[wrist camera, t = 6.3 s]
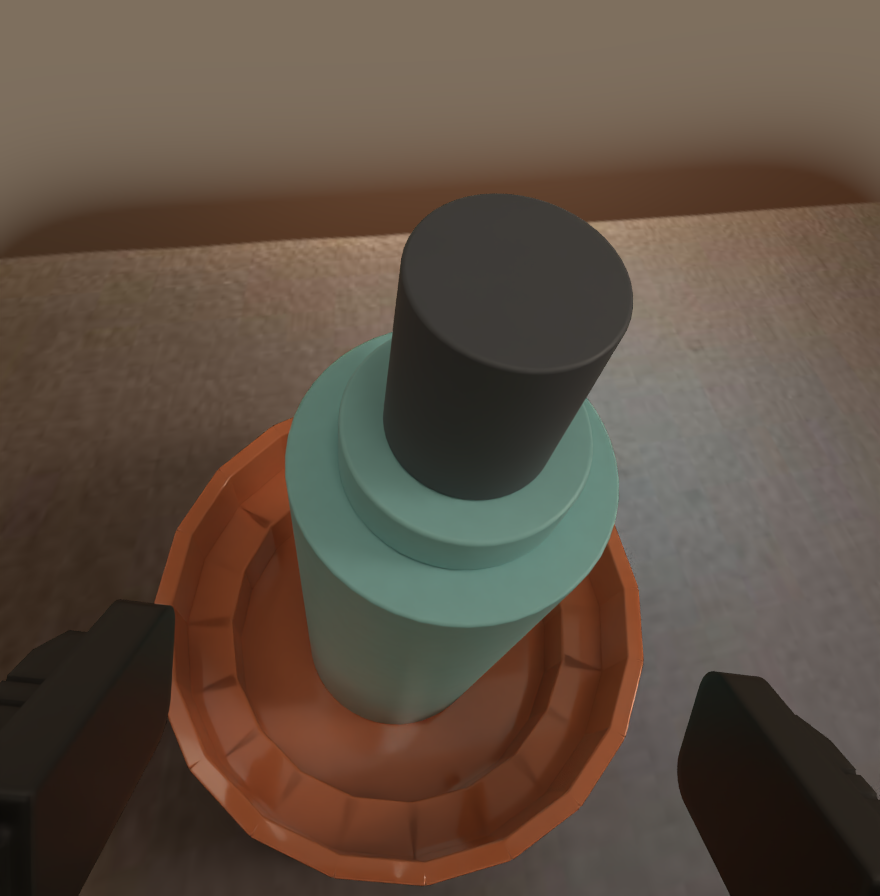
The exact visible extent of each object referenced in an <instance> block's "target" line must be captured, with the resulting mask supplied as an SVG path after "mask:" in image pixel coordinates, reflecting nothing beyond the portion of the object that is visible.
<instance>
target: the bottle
mask: <svg viewBox="0 0 880 896" xmlns="http://www.w3.org/2000/svg"><path fill="white" fill-rule="evenodd" d="M632 310H633V292H632V286H631V281H630V278H629V275H628V272H627V270H626V268H625V266H624V264H623V261H622V260H621V258H620V257H619V255H618V254H617V252H616V251H615V249H614V248H613V247H612V246H611V244H610V243H609V242H608V241H607V240H606V239H605V238H604V237H603V236H602V235H601V234H600V233H599V232H598V231H597V230H596V229H594V228H593V227H592V226H591V225H589V224H588V223H587V222H585V221H584V220H582V219H580V218H579V217H577V216H576V215H574V214H572V213H570V212H568V211H566V210H564V209H562V208H560V207H557V206H555V205H553V204H550V203H548V202H544V201H541V200H538V199H534V198H530V197H525V196H519V195H512V194H480V195H474V196H468V197H464V198H461V199H457V200H454V201H452V202H449V203H448V204H445V205H443V206H441V207H439V208H438V209H436V210H434V211H433V212H431V213H430V214H429V215H427V216H426V217H425V218H424V219H423V220H422V221H421V222H420V223H419V224H418V225H417V226H416V227H415V229H414V230H413V232H412V233H411V235H410V236H409V238H408V240H407V242H406V244H405V247H404V250H403V254H402V258H401V265H400V274H399V282H398V291H397V299H396V308H395V316H394V324H393V332H391V333H388V334H385V335H382V336H379V337H376V338H373V339H371V340H369V341H367V342H365V343H363V344H361V345H359V346H357V347H355V348H354V349H352V350H350V351H349V352H347V353H346V354H344V355H343V356H341V357H340V358H339V359H337V360H336V361H335V362H334V363H333V364H332V365H330V366H329V367H328V368H327V369H326V370H325V371H324V372H323V373H322V374H321V375H320V376H319V378H318V379H317V380H316V381H315V382H314V383H313V384H312V386H311V387H310V389H309V390H308V392H307V393H306V395H305V396H304V398H303V399H302V401H301V403H300V405H299V407H298V409H297V411H296V414H295V416H294V418H293V421H292V424H291V428H290V431H289V434H288V439H287V446H286V452H285V479H286V485H287V492H288V499H289V505H290V512H291V519H292V525H293V532H294V539H295V545H296V552H297V559H298V565H299V572H300V579H301V585H302V592H303V599H304V605H305V612H306V619H307V625H308V632H309V639H310V645H311V652H312V657H313V661H314V664H315V668H316V670H317V672H318V674H319V677H320V679H321V680H322V682H323V683H324V685H325V687H326V688H327V690H328V691H329V692H330V693H331V694H332V696H333V697H334V698H335V699H336V700H337V701H338V702H339V703H341V704H342V705H343V706H344V707H346V708H347V709H348V710H350V711H351V712H353V713H355V714H357V715H359V716H361V717H363V718H365V719H368V720H371V721H374V722H379V723H385V724H408V723H414V722H418V721H422V720H425V719H427V718H430V717H432V716H435V715H436V714H438V713H440V712H441V711H443V710H445V709H446V708H447V707H449V706H450V705H451V704H452V703H454V702H455V701H456V700H457V699H458V698H459V697H460V696H461V695H462V694H463V693H464V692H465V691H466V690H467V689H469V688H470V687H471V686H472V685H473V684H474V683H475V682H476V681H477V680H478V679H479V678H480V677H481V676H482V675H483V674H484V673H486V672H487V671H488V670H489V669H490V668H491V667H492V666H493V665H494V664H495V663H496V662H497V661H498V660H499V659H500V658H501V657H503V656H504V655H505V654H506V653H507V652H508V651H509V650H510V649H511V648H512V647H513V646H514V645H515V644H516V643H517V642H518V641H520V640H521V639H522V638H523V637H524V636H525V635H526V634H527V633H528V632H529V631H530V630H531V629H532V628H533V627H534V626H535V625H537V624H538V623H539V622H540V621H541V620H542V619H543V618H544V617H545V616H546V615H547V614H548V613H549V612H550V611H551V610H552V609H554V608H555V607H556V606H557V605H558V604H559V603H560V602H561V601H562V600H563V599H564V598H565V597H566V596H567V595H568V594H569V593H571V592H572V591H573V590H574V589H575V588H576V587H577V586H578V585H579V584H580V583H581V581H582V580H583V579H584V578H585V577H586V576H587V575H588V574H589V573H590V571H591V570H592V569H593V567H594V566H595V564H596V563H597V562H598V560H599V559H600V557H601V555H602V553H603V551H604V549H605V547H606V545H607V543H608V541H609V539H610V536H611V533H612V530H613V527H614V524H615V520H616V514H617V508H618V502H619V479H618V471H617V463H616V459H615V455H614V451H613V447H612V444H611V441H610V439H609V436H608V434H607V431H606V429H605V427H604V424H603V423H602V421H601V419H600V417H599V416H598V414H597V412H596V410H595V409H594V407H593V406H592V404H591V403H590V402H589V400H588V399H587V398H586V397H587V395H588V394H589V392H590V390H591V389H592V387H593V386H594V384H595V382H596V381H597V379H598V377H599V376H600V374H601V372H602V371H603V369H604V367H605V366H606V364H607V362H608V361H609V359H610V357H611V356H612V354H613V352H614V351H615V349H616V347H617V346H618V344H619V342H620V341H621V339H622V337H623V336H624V334H625V332H626V331H627V328H628V326H629V323H630V320H631V316H632Z"/></svg>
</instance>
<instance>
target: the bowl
mask: <svg viewBox="0 0 880 896" xmlns="http://www.w3.org/2000/svg"><path fill="white" fill-rule="evenodd" d="M293 418H294V417H293ZM293 418H290V419H288V420H286V421H283V422H281V423H278V424H276V425H274V426H273V427H271V428H269V429H268V430H267V431H266V432H264V433H263V434H262V435H261V436H259V437H258V438H257V439H256V440H254V441H253V442H252V443H250V444H249V445H248V446H247V447H245V448H244V449H243V450H242V451H240V452H239V453H238V454H237V455H235V456H234V457H233V458H232V459H230V460H229V461H228V462H227V463H225V464H224V465H223V466H222V467H220V468H219V470H217V471H216V473H215V474H214V476H213V477H212V479H211V480H210V482H209V483H208V485H207V486H206V487H205V489H204V490H203V492H202V493H201V495H200V496H199V498H198V499H197V501H196V502H195V503H194V505H193V506H192V508H191V509H190V511H189V512H188V514H187V515H186V516H185V518H184V519H183V521H182V522H181V524H180V525H179V527H178V528H177V531H176V532H175V535H174V538H173V542H172V545H171V548H170V552H169V555H168V558H167V562H166V565H165V568H164V572H163V575H162V578H161V582H160V585H159V588H158V592H157V595H156V598H155V602H154V604H163V605H171V606H172V607H173V608H174V612H175V633H174V651H173V669H172V687H171V701H170V707H169V713H168V719H169V721H170V724H171V726H172V729H173V731H174V734H175V736H176V739H177V741H178V744H179V746H180V749H181V751H182V754H183V756H184V759H185V761H186V764H187V766H188V768H189V769H190V772H191V773H192V774H193V775H194V776H195V777H196V778H197V779H198V780H199V781H200V783H201V784H202V785H203V786H204V787H205V788H206V789H207V790H208V791H209V792H210V794H211V795H212V796H213V797H214V798H215V799H216V800H217V801H218V802H219V803H220V804H221V806H222V807H223V808H224V809H225V810H226V811H227V812H228V813H229V814H230V815H231V817H232V818H233V819H234V820H235V821H236V822H237V823H238V824H239V825H240V826H241V828H242V829H243V830H244V831H245V832H246V833H247V834H248V835H250V836H251V837H252V838H253V839H255V840H257V841H259V842H261V843H263V844H265V845H267V846H269V847H271V848H273V849H275V850H277V851H279V852H281V853H283V854H285V855H287V856H289V857H291V858H293V859H295V860H297V861H299V862H301V863H303V864H305V865H307V866H309V867H311V868H313V869H315V870H317V871H319V872H321V873H323V874H325V875H327V876H329V877H334V878H335V879H346V880H358V881H369V882H381V883H393V884H404V885H416V886H425V885H431V884H435V883H438V882H441V881H445V880H448V879H452V878H455V877H458V876H462V875H465V874H468V873H472V872H475V871H478V870H482V869H485V868H489V867H492V866H495V865H499V864H502V863H505V862H509V861H510V860H511V859H515V858H516V857H517V856H518V855H520V854H521V853H522V852H524V851H525V850H526V849H528V848H529V847H530V846H532V845H533V844H534V843H535V842H537V841H538V840H539V839H541V838H542V837H543V836H545V835H546V834H547V833H549V832H550V831H551V830H552V829H554V828H555V827H556V826H558V825H559V824H560V823H562V822H563V821H564V820H565V819H567V818H568V817H569V816H571V815H572V814H573V813H575V812H576V811H577V810H579V808H580V807H581V806H582V805H583V803H584V802H585V800H586V799H587V797H588V796H589V794H590V792H591V791H592V789H593V788H594V786H595V785H596V783H597V782H598V780H599V778H600V777H601V775H602V774H603V772H604V771H605V769H606V767H607V766H608V764H609V763H610V761H611V760H612V758H613V756H614V755H615V753H616V752H617V750H618V749H619V747H620V745H621V744H622V742H623V741H624V738H625V737H626V733H627V729H628V725H629V721H630V717H631V713H632V709H633V704H634V700H635V696H636V692H637V688H638V684H639V680H640V676H641V672H642V668H643V646H642V631H641V617H640V602H639V590H638V589H637V588H638V585H637V583H636V580H635V578H634V575H633V572H632V570H631V567H630V564H629V562H628V559H627V556H626V554H625V551H624V548H623V546H622V543H621V540H620V538H619V535H618V532H617V530H616V527H615V524H614V527H613V530H612V533H611V536H610V539H609V541H608V543H607V545H606V547H605V549H604V551H603V553H602V555H601V557H600V559H599V560H598V562H597V563H596V564H595V566H594V567H593V569H592V570H591V571H590V573H589V574H588V575H587V576H586V577H585V578H584V579H583V580H582V581H581V583H580V584H579V585H578V586H577V587H576V588H575V589H574V590H573V591H572V592H571V593H569V594H568V595H567V596H566V597H565V598H564V599H563V600H562V601H561V602H560V603H559V604H558V605H557V606H556V607H555V608H554V609H552V610H551V611H550V612H549V613H548V614H547V615H546V616H545V617H544V618H543V619H542V620H541V621H540V622H539V623H538V624H537V625H535V626H534V627H533V628H532V629H531V630H530V631H529V632H528V633H527V634H526V635H525V636H524V637H523V638H522V639H521V640H520V641H518V642H517V643H516V644H515V645H514V646H513V647H512V648H511V649H510V650H509V651H508V652H507V653H506V654H505V655H504V656H503V657H501V658H500V659H499V660H498V661H497V662H496V663H495V664H494V665H493V666H492V667H491V668H490V669H489V670H488V671H487V672H486V673H484V674H483V675H482V676H481V677H480V678H479V679H478V680H477V681H476V682H475V683H474V684H473V685H472V686H471V687H470V688H469V689H467V690H466V691H465V692H464V693H463V694H462V695H461V696H460V697H459V698H458V699H457V700H456V701H455V702H454V703H452V704H451V705H450V706H449V707H447V708H446V709H445V710H443V711H441V712H440V713H438V714H436V715H435V716H432V717H430V718H427V719H425V720H422V721H418V722H414V723H408V724H385V723H379V722H374V721H371V720H368V719H365V718H363V717H361V716H359V715H357V714H355V713H353V712H351V711H350V710H348V709H347V708H346V707H344V706H343V705H342V704H341V703H339V702H338V701H337V700H336V699H335V698H334V697H333V696H332V694H331V693H330V692H329V691H328V690H327V688H326V687H325V685H324V683H323V682H322V680H321V679H320V677H319V674H318V672H317V670H316V668H315V664H314V661H313V657H312V652H311V645H310V639H309V632H308V625H307V619H306V612H305V605H304V599H303V592H302V585H301V579H300V572H299V565H298V559H297V552H296V545H295V539H294V532H293V525H292V519H291V512H290V505H289V499H288V492H287V485H286V479H285V452H286V446H287V439H288V434H289V431H290V428H291V424H292V421H293Z"/></svg>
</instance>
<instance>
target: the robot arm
mask: <svg viewBox="0 0 880 896" xmlns="http://www.w3.org/2000/svg"><path fill="white" fill-rule="evenodd" d="M174 633H175V612H174V608H173V607H172V606H171V605H163V604H154V603H146V602H138V601H129V600H121V599H119V600H116V601H115V602H114V603H113V604H112V605H111V606H110V607H109V608H108V609H107V610H106V611H105V613H104V614H103V615H102V616H101V617H100V618H99V619H98V620H97V622H96V623H95V624H94V625H93V626H92V627H91V628H90V630H89V631H88V632H81V631H73V630H69V631H67V632H65V633H63V634H61V635H59V636H57V637H55V638H54V639H52V640H50V641H48V642H46V643H44V644H42V645H41V646H39V647H37V648H35V649H33V650H32V651H31V652H30V653H29V654H28V655H27V656H26V657H25V658H24V659H23V660H22V661H21V662H20V663H19V664H18V665H17V666H16V667H15V668H14V669H13V670H12V671H11V672H10V673H9V674H8V675H7V679H6V681H1V682H0V896H78V895H79V893H80V891H81V889H82V887H83V885H84V884H85V882H86V880H87V878H88V876H89V874H90V872H91V870H92V868H93V867H94V865H95V863H96V861H97V859H98V857H99V855H100V853H101V851H102V850H103V848H104V846H105V844H106V842H107V840H108V838H109V836H110V834H111V833H112V831H113V829H114V827H115V825H116V823H117V821H118V819H119V817H120V816H121V814H122V812H123V810H124V808H125V806H126V804H127V802H128V800H129V799H130V797H131V795H132V793H133V791H134V789H135V787H136V785H137V784H138V782H139V780H140V778H141V776H142V774H143V772H144V770H145V768H146V767H147V765H148V763H149V761H150V759H151V757H152V755H153V753H154V751H155V750H156V748H157V746H158V744H159V741H160V739H161V737H162V734H163V731H164V728H165V725H166V721H167V717H168V713H169V707H170V701H171V687H172V669H173V651H174ZM855 770H856V769H855V768H854V767H853V766H852V765H851V763H850V762H849V761H848V760H847V759H846V758H845V757H844V755H843V754H842V753H841V752H840V751H839V750H838V748H837V747H836V746H835V745H834V744H833V743H832V742H831V741H830V740H829V739H828V738H827V737H825V736H824V735H823V734H821V733H820V732H819V731H817V730H816V729H815V728H813V727H812V726H811V725H809V724H808V723H807V722H805V721H804V720H803V719H801V718H800V717H799V716H797V715H795V714H794V713H793V712H792V711H791V710H790V708H789V707H788V706H787V705H786V704H785V702H784V701H783V700H782V699H781V698H780V697H779V695H778V694H777V693H776V692H775V691H774V689H773V688H772V687H771V686H770V685H769V683H768V682H767V681H766V680H764V679H763V678H761V677H757V676H749V675H740V674H732V673H723V672H715V671H711V672H708V673H707V674H706V675H705V676H704V677H703V679H702V681H701V684H700V686H699V690H698V693H697V696H696V699H695V703H694V706H693V709H692V713H691V716H690V719H689V723H688V726H687V729H686V732H685V736H684V739H683V742H682V746H681V749H680V752H679V757H678V765H677V775H678V784H679V789H680V793H681V796H682V799H683V801H684V803H685V805H686V807H687V809H688V811H689V813H690V815H691V817H692V819H693V821H694V823H695V825H696V827H697V829H698V831H699V833H700V835H701V837H702V839H703V841H704V843H705V845H706V847H707V849H708V851H709V853H710V855H711V857H712V859H713V861H714V863H715V865H716V867H717V869H718V871H719V873H720V875H721V878H722V880H723V882H724V884H725V886H726V888H727V890H728V892H729V894H730V896H880V800H878V799H877V793H876V792H875V791H874V790H873V789H872V788H871V786H870V785H869V784H868V783H867V782H866V781H865V780H864V778H863V777H862V776H861V775H856V772H855Z"/></svg>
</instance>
